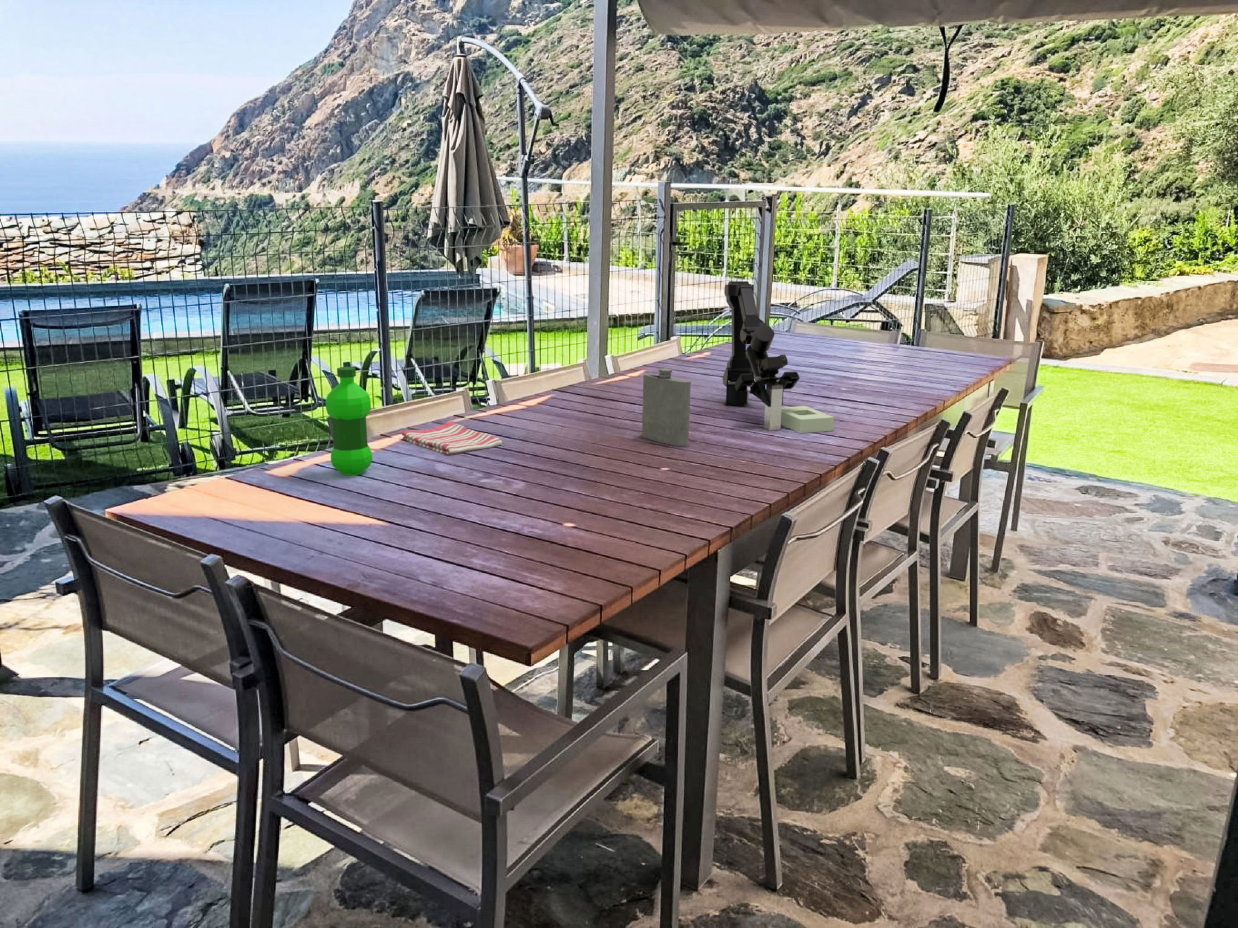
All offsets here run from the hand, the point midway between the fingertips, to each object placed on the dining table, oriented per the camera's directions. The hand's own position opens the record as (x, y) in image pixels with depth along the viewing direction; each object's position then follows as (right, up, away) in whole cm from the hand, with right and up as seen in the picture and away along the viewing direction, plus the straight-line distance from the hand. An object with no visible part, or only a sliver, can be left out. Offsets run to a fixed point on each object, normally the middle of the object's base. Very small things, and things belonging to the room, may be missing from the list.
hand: (775, 405), depth 274 cm
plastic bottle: (-108, -19, -47) cm, 120 cm away
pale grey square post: (-1, -6, +3) cm, 7 cm away
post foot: (+9, -5, +7) cm, 13 cm away
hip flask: (-33, -11, -13) cm, 37 cm away
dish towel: (-90, -12, -18) cm, 93 cm away
